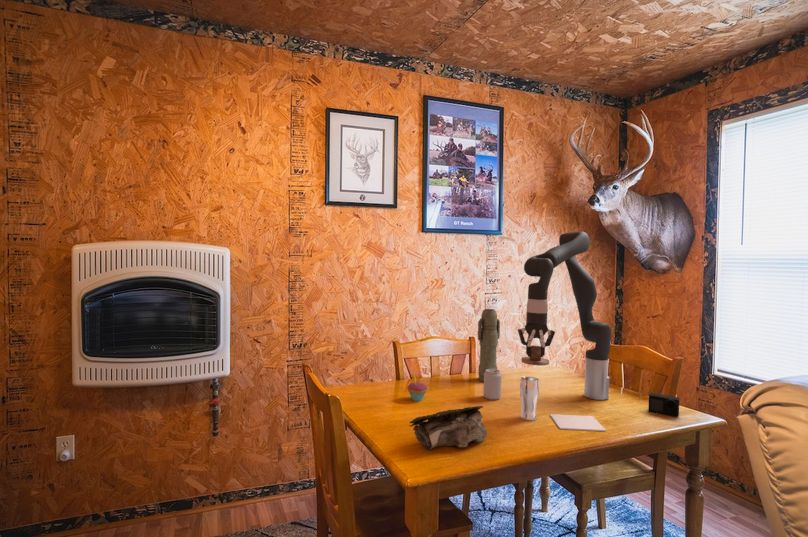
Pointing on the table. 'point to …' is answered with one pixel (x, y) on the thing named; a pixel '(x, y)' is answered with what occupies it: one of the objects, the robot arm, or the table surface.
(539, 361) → the walnut lid
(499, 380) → the can
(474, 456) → the table surface
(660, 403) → the digital camera
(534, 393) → the beer glass
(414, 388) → the cupcake
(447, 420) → the hollow geode rock
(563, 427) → the white mat
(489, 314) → the green statue
